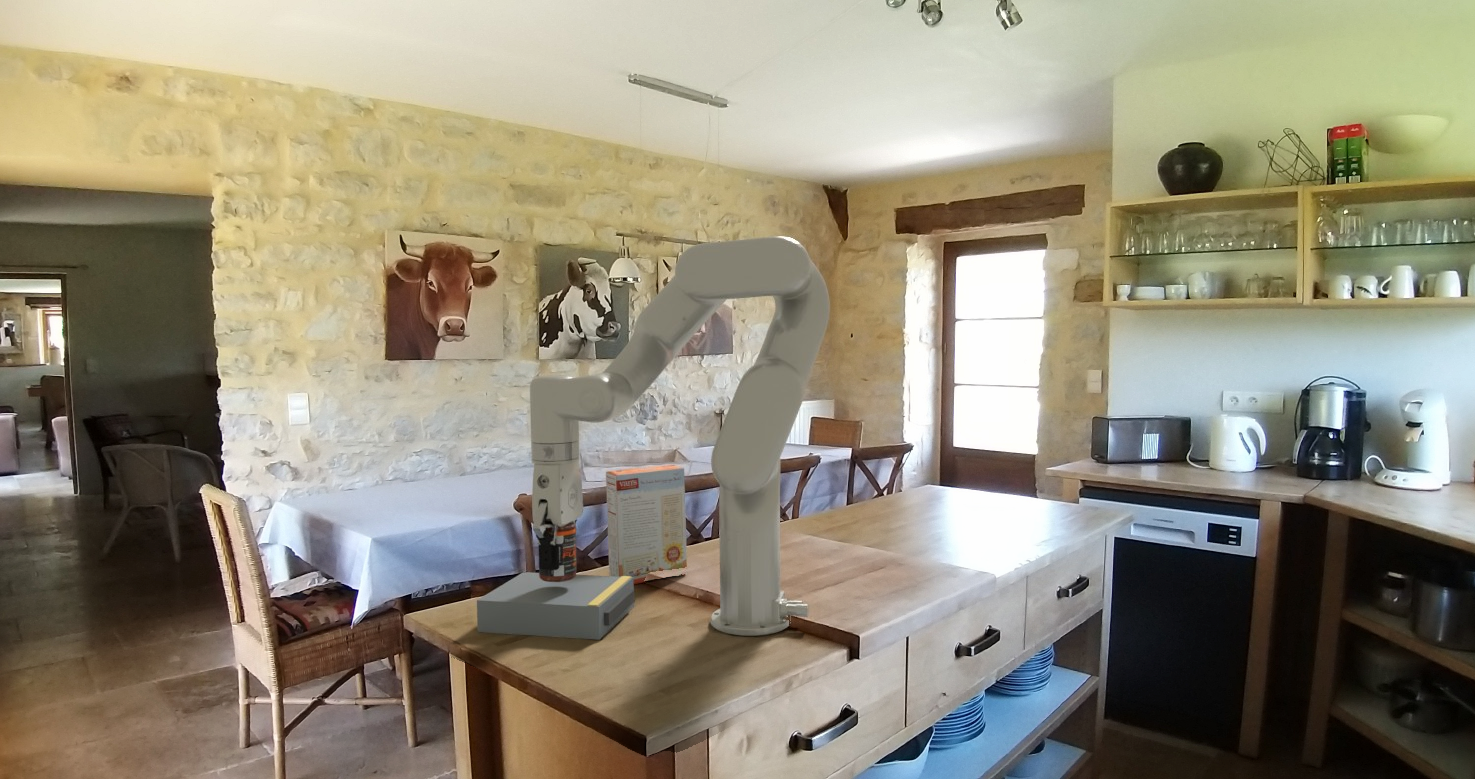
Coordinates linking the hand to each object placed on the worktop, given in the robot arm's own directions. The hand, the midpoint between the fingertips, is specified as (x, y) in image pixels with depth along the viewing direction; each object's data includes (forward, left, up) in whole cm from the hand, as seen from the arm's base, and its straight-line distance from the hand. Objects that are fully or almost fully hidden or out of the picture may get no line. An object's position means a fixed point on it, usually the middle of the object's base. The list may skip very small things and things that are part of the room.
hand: (558, 562), depth 135 cm
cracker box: (-7, -25, -9) cm, 28 cm away
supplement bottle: (0, 0, -3) cm, 3 cm away
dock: (0, 0, -9) cm, 9 cm away
